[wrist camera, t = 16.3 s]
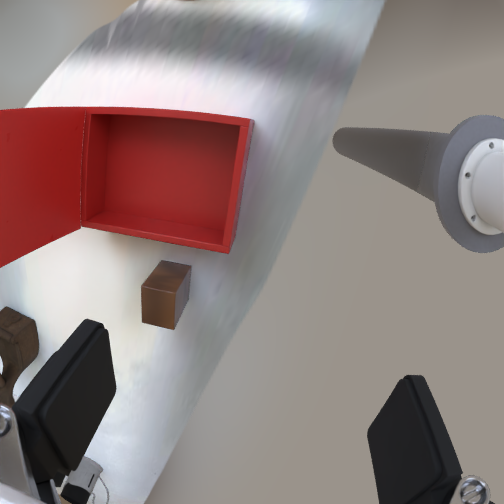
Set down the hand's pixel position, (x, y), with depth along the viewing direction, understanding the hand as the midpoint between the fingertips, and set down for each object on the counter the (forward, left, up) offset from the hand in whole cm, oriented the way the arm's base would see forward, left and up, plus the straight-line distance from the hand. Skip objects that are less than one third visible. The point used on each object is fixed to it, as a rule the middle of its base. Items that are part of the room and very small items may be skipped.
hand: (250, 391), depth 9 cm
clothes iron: (+42, +34, -28) cm, 61 cm away
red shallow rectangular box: (+12, -1, -28) cm, 31 cm away
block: (+10, +13, -28) cm, 33 cm away
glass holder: (+34, +82, -28) cm, 93 cm away
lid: (+22, -1, -13) cm, 26 cm away
